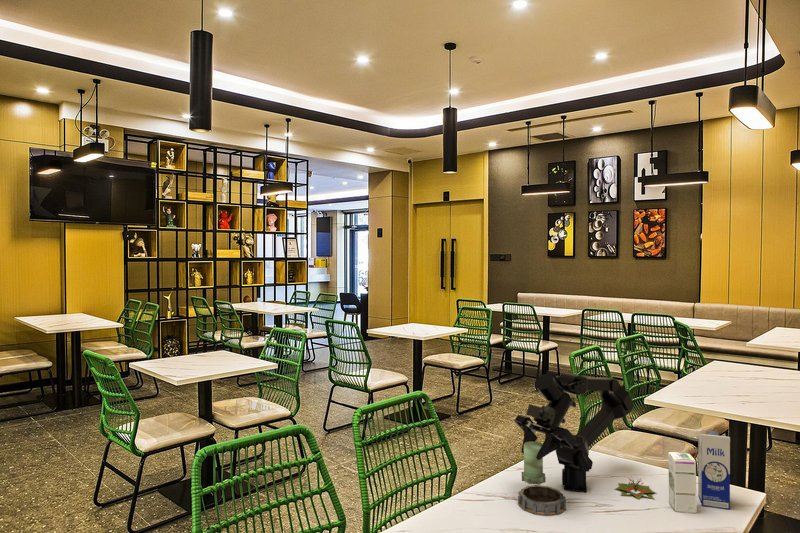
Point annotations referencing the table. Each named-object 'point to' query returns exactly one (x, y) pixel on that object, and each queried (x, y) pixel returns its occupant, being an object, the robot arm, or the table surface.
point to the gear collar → (542, 500)
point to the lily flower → (635, 489)
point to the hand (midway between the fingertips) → (529, 455)
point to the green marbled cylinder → (533, 464)
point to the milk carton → (714, 470)
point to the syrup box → (682, 482)
